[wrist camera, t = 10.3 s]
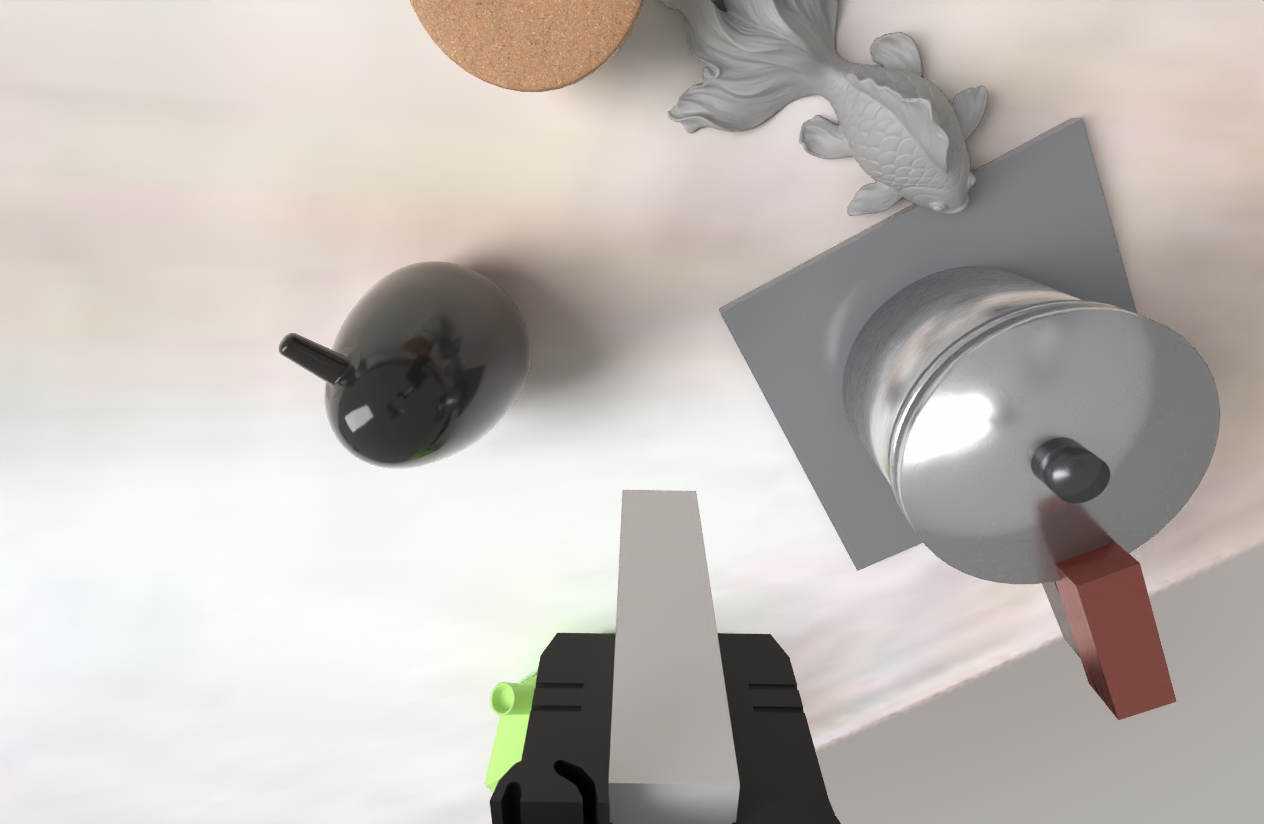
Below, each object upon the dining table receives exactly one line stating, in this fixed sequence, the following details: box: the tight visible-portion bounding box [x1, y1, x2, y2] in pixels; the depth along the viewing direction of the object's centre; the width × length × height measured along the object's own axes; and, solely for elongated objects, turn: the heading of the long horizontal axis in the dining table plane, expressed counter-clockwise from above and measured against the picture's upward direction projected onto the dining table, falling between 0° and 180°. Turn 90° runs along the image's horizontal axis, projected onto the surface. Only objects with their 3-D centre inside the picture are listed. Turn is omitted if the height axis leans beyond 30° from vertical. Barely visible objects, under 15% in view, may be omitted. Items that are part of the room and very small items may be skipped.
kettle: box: [485, 673, 537, 793], centre depth 50 cm, size 15×14×11 cm
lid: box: [894, 304, 1220, 720], centre depth 33 cm, size 23×15×3 cm, turn 27°
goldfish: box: [659, 0, 988, 216], centre depth 36 cm, size 20×10×9 cm
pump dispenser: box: [279, 262, 531, 469], centre depth 36 cm, size 10×10×15 cm
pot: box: [842, 266, 1127, 657], centre depth 39 cm, size 23×15×10 cm, turn 30°
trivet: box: [719, 118, 1137, 571], centre depth 43 cm, size 22×22×1 cm
